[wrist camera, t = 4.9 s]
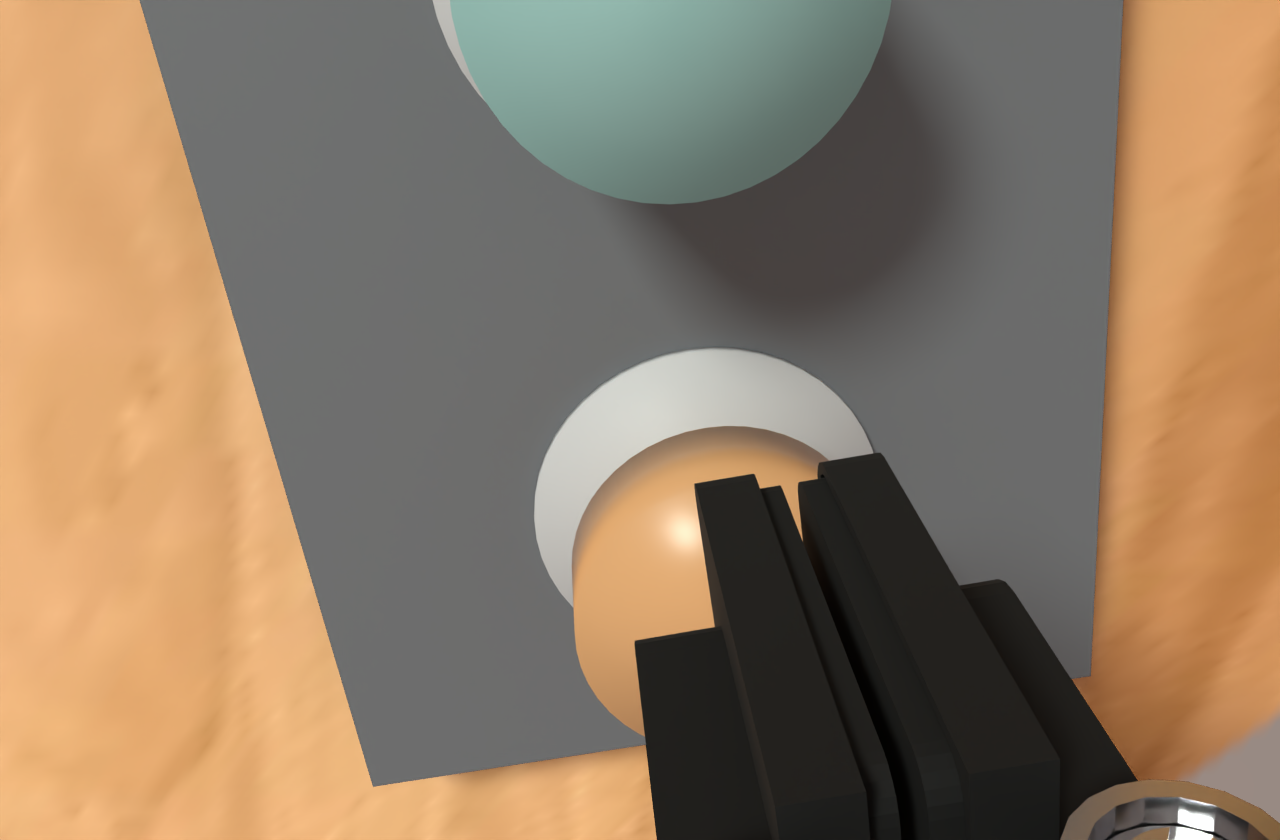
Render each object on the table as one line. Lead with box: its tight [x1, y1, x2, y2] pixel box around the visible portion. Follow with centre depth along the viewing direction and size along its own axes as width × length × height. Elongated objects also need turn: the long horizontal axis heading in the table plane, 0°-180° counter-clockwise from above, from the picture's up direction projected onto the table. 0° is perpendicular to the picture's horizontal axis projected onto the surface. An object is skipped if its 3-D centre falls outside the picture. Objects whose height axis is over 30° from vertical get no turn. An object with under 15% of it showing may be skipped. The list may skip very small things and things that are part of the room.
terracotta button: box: [572, 426, 829, 737], centre depth 18 cm, size 5×5×3 cm
